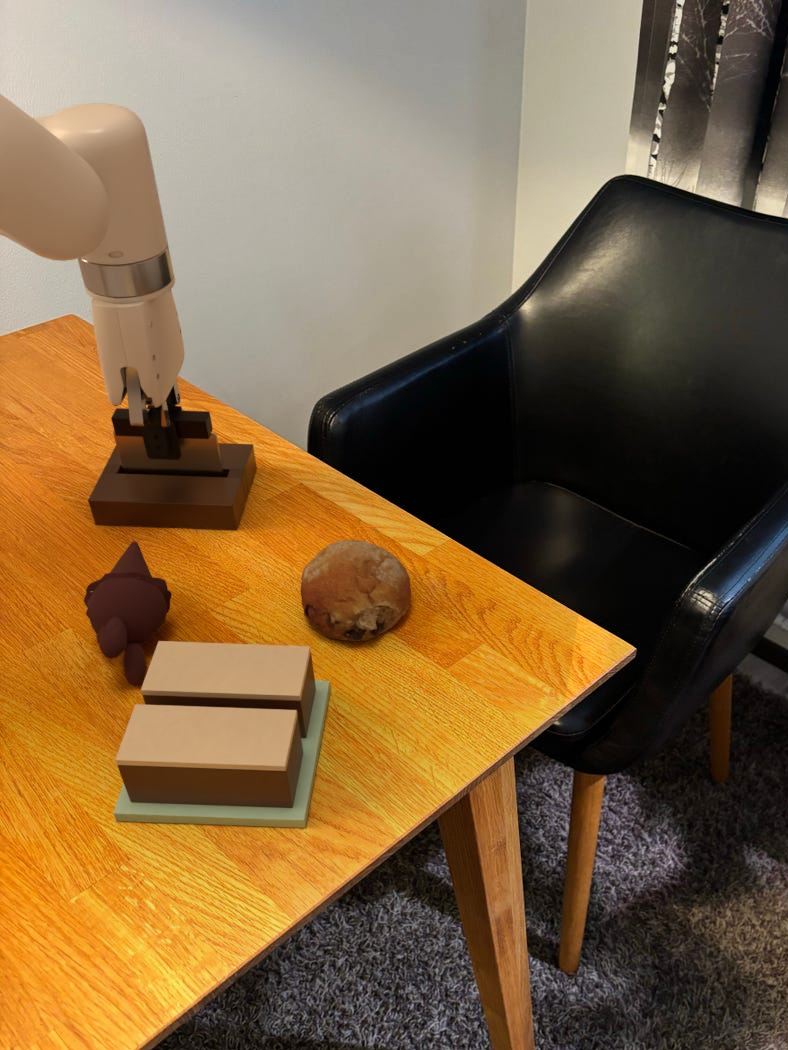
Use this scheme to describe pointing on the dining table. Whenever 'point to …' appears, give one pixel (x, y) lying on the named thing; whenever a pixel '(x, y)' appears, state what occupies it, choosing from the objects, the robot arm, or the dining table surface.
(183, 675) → the paired blocks on tray
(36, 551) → the dining table surface
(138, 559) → the icecream
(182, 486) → the brown slotted block
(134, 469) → the beige black-topped panel
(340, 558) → the bread roll
